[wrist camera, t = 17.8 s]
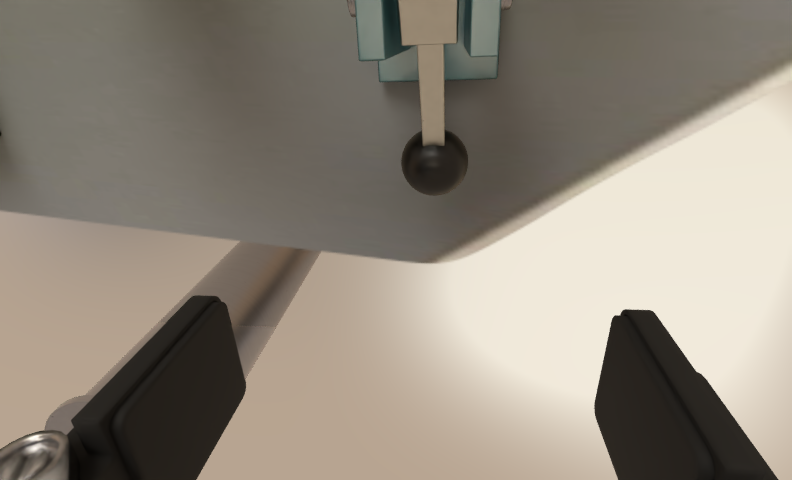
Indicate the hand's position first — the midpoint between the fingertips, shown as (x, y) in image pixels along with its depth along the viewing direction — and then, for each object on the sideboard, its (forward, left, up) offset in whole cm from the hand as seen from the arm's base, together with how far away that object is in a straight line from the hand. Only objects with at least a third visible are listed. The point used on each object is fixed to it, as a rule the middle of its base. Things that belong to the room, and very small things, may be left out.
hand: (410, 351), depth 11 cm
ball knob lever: (+5, 0, -14) cm, 15 cm away
